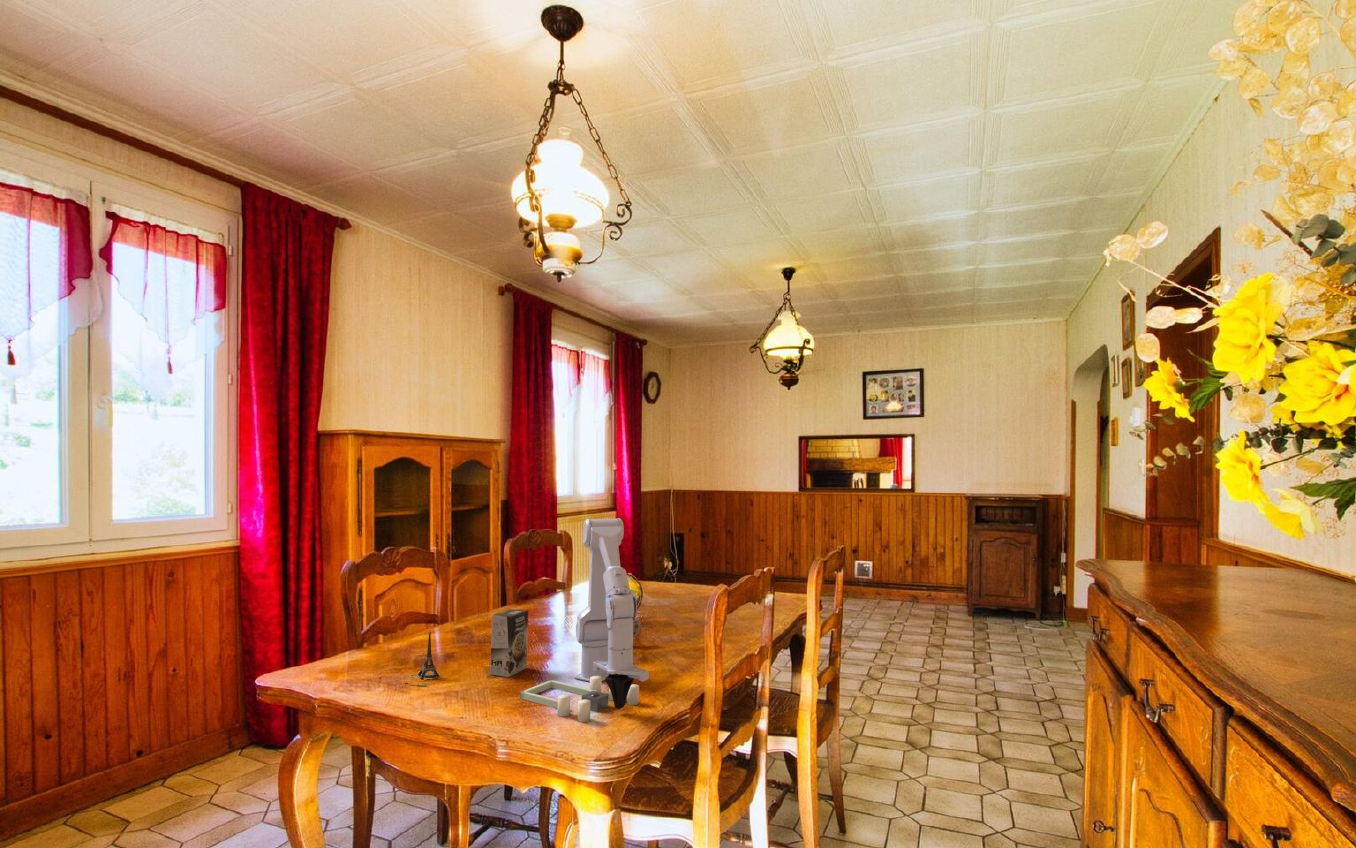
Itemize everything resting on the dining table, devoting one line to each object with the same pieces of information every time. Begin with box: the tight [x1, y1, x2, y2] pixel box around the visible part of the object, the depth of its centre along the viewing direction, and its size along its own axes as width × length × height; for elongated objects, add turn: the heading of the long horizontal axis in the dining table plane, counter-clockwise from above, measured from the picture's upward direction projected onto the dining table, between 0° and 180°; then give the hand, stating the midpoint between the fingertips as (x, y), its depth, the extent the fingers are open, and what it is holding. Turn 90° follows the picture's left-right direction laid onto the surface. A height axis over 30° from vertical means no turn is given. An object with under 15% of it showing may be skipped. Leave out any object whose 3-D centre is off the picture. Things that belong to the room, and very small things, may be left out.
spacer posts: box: [557, 676, 640, 723], centre depth 154 cm, size 17×14×4 cm
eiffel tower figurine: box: [405, 631, 442, 687], centre depth 177 cm, size 15×10×13 cm
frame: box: [519, 679, 595, 709], centre depth 161 cm, size 11×15×2 cm
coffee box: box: [489, 608, 529, 678], centre depth 182 cm, size 9×6×16 cm
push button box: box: [580, 691, 609, 713], centre depth 155 cm, size 4×4×3 cm
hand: (619, 707), depth 151 cm, fingers closed
